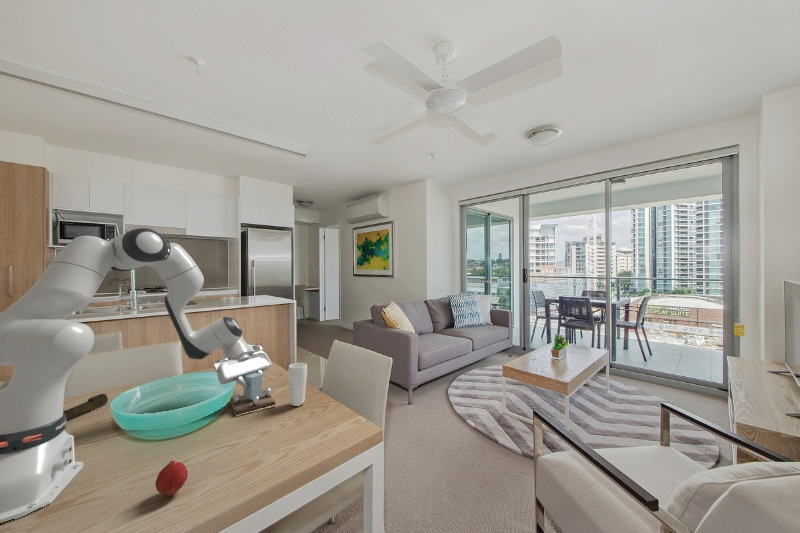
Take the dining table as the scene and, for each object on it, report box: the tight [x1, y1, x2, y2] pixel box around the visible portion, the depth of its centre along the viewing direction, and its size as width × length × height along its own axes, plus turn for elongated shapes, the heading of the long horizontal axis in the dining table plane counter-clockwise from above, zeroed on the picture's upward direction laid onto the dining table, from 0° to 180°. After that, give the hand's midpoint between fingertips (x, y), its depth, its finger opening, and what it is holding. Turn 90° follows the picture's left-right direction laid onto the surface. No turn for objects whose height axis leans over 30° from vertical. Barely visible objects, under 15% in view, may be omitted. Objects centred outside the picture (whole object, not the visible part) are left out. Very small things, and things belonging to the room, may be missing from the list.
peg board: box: [230, 387, 276, 416], centre depth 114 cm, size 13×13×5 cm
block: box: [243, 372, 263, 400], centre depth 114 cm, size 4×4×8 cm
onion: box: [154, 458, 189, 497], centre depth 68 cm, size 6×6×8 cm
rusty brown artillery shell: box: [63, 393, 109, 422], centre depth 105 cm, size 19×4×5 cm, turn 174°
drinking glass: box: [288, 362, 308, 405], centre depth 115 cm, size 7×7×15 cm
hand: (254, 384), depth 114 cm, fingers closed on block, 4 cm apart
